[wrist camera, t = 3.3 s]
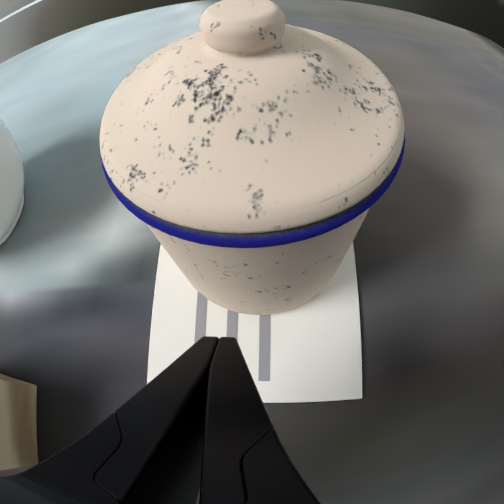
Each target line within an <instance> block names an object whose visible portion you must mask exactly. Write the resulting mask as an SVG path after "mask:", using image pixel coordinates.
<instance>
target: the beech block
mask: <svg viewBox="0 0 504 504" xmlns="http://www.w3.org/2000/svg"><path fill="white" fill-rule="evenodd" d="M36 400H37V385H33V384H30V383H27V382H24V381H21V380H18V379H15V378H12V377H9V376H6V375H3V374H0V470H7V469H13V468H19V467H24V466H29V465H35V464H38V451H37V426H36Z"/></svg>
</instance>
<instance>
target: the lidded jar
mask: <svg viewBox="0 0 504 504" xmlns="http://www.w3.org/2000/svg"><path fill="white" fill-rule="evenodd" d="M23 189H24V168H23V162H22V158H21V155H20V151H19V149H18V147H17V145H16V143H15V141H14V139H13V137H12V135H11V134H10V132H9V130H8V129H7V127H6V126H5V124H4V123H3V121H2V120H1V119H0V246H1V245H2V244H3V243H4V242H5V241H6V240H7V238H8V237H9V236H10V234H11V233H12V232H13V230H14V228H15V227H16V225H17V223H18V221H19V218H20V216H21V213H22V210H23V205H24V191H23Z"/></svg>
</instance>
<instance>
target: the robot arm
mask: <svg viewBox="0 0 504 504" xmlns="http://www.w3.org/2000/svg"><path fill="white" fill-rule="evenodd" d="M115 413H116V414H115ZM115 413H112V414H111V415H109V416H108V417H107V418H106V419H104V420H103V421H102V422H101V423H99V424H98V425H97V426H96V427H94V428H93V429H92V430H90V431H89V432H88V433H86V434H85V435H83V436H82V437H80V438H79V439H77V440H76V441H74V442H73V443H71V444H70V445H68V446H67V447H65V448H63V449H62V450H60V451H59V452H57V453H55V454H54V455H52V456H50V457H49V458H47V459H45V460H44V461H42V462H40V463H39V464H37V465H35V466H34V467H32V468H30V469H28V470H26V471H24V472H21V473H19V474H15V475H11V476H0V504H196V500H197V496H198V492H199V488H200V500H199V504H320V502H319V501H318V500H317V498H316V497H315V496H314V494H313V493H312V491H311V490H310V489H309V487H308V486H307V485H306V483H305V482H304V480H303V479H302V478H301V476H300V474H299V473H298V471H297V470H296V468H295V467H294V465H293V463H292V462H291V460H290V458H289V457H288V455H287V453H286V451H285V449H284V447H283V445H282V443H281V441H280V439H279V437H278V434H277V432H276V430H275V429H274V426H273V424H272V421H271V419H270V417H269V415H268V412H267V410H266V408H265V406H264V403H263V401H262V399H261V396H260V394H259V392H258V389H257V387H256V385H255V382H254V380H253V378H252V375H251V373H250V370H249V368H248V366H247V363H246V361H245V358H244V356H243V354H242V351H241V349H240V346H239V344H238V341H237V339H236V338H235V337H220V338H218V337H214V336H203V337H201V338H200V339H199V340H198V341H197V342H196V343H194V344H193V345H192V346H191V347H190V348H189V349H188V350H186V351H185V352H184V353H183V354H182V355H181V356H179V357H178V358H177V359H176V360H175V361H174V362H173V363H171V364H170V365H169V366H168V367H167V368H166V369H164V370H163V371H162V372H161V373H160V374H159V375H157V376H156V377H155V378H154V379H153V380H151V381H150V382H149V383H148V384H147V385H146V386H144V387H143V388H142V389H141V390H140V391H138V392H137V393H136V394H135V395H134V396H132V397H131V398H130V399H129V400H128V401H126V402H125V403H124V404H123V405H122V406H120V407H119V408H118V409H117V410H116V411H115Z"/></svg>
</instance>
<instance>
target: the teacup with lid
mask: <svg viewBox="0 0 504 504" xmlns="http://www.w3.org/2000/svg"><path fill="white" fill-rule="evenodd" d="M404 131H405V129H404V118H403V113H402V109H401V105H400V103H399V100H398V97H397V95H396V93H395V91H394V89H393V87H392V85H391V84H390V82H389V81H388V79H387V78H386V76H385V75H384V74H383V73H382V72H381V70H380V69H379V68H378V67H377V66H376V65H375V64H374V63H373V62H372V61H370V60H369V59H368V58H367V57H365V56H364V55H363V54H361V53H360V52H359V51H357V50H356V49H354V48H352V47H351V46H349V45H347V44H345V43H343V42H341V41H339V40H337V39H335V38H333V37H330V36H328V35H325V34H322V33H320V32H316V31H313V30H309V29H305V28H301V27H296V26H291V25H288V24H285V15H284V13H283V11H282V10H281V8H280V7H279V6H278V5H277V4H275V3H274V2H272V1H270V0H223V1H220V2H217V3H215V4H213V5H211V6H210V7H208V8H207V9H206V10H205V12H204V13H203V15H202V16H201V19H200V31H198V32H196V33H194V34H192V35H189V36H186V37H184V38H181V39H179V40H177V41H174V42H172V43H170V44H168V45H166V46H165V47H163V48H161V49H159V50H158V51H156V52H154V53H153V54H151V55H150V56H148V57H147V58H146V59H144V60H143V61H142V62H141V63H139V64H138V65H137V66H136V67H135V68H134V69H133V70H132V71H131V72H130V73H129V74H128V75H127V76H126V77H125V78H124V79H123V80H122V82H121V83H120V84H119V85H118V87H117V88H116V90H115V91H114V93H113V95H112V96H111V98H110V100H109V102H108V104H107V107H106V109H105V112H104V115H103V118H102V123H101V129H100V152H101V160H102V167H103V170H104V173H105V177H106V179H107V181H108V183H109V185H110V187H111V189H112V190H113V192H114V193H115V195H116V196H117V198H118V199H119V200H120V201H121V202H122V204H123V205H124V206H125V207H126V208H127V209H128V210H129V211H131V212H132V213H133V214H134V215H135V216H136V217H138V218H139V219H140V220H142V221H144V222H145V223H147V225H148V226H149V228H150V229H151V231H152V232H153V233H154V235H155V236H156V237H157V239H158V240H159V242H160V243H161V244H162V246H163V247H164V248H165V250H166V251H167V253H168V254H169V255H170V257H171V258H172V259H173V261H174V262H175V263H176V265H177V266H178V267H179V269H180V270H181V271H182V273H183V274H184V275H185V277H186V278H187V279H188V281H189V282H190V283H191V284H192V286H193V287H194V288H195V289H196V290H197V291H198V292H199V293H200V294H202V295H203V296H204V297H205V298H207V299H208V300H210V301H211V302H213V303H215V304H217V305H219V306H221V307H223V308H225V309H228V310H231V311H234V312H238V313H243V314H250V315H268V314H276V313H280V312H284V311H288V310H290V309H293V308H296V307H298V306H300V305H302V304H304V303H306V302H307V301H309V300H310V299H312V298H313V297H315V296H316V295H317V294H318V293H319V292H321V291H322V290H323V289H324V288H325V287H326V286H327V284H328V283H329V282H330V281H331V279H332V278H333V276H334V275H335V273H336V272H337V270H338V268H339V266H340V264H341V262H342V261H343V259H344V257H345V255H346V253H347V251H348V249H349V247H350V246H351V244H352V242H353V240H354V238H355V236H356V234H357V232H358V230H359V228H360V226H361V224H362V222H363V220H364V219H365V217H366V215H367V213H368V211H369V209H370V207H371V206H372V205H373V204H374V203H375V202H376V201H377V200H378V199H379V198H380V197H381V196H382V195H383V193H384V192H385V191H386V190H387V189H388V187H389V186H390V184H391V183H392V181H393V179H394V178H395V176H396V174H397V171H398V169H399V167H400V164H401V161H402V157H403V153H404V145H405V132H404Z"/></svg>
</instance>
